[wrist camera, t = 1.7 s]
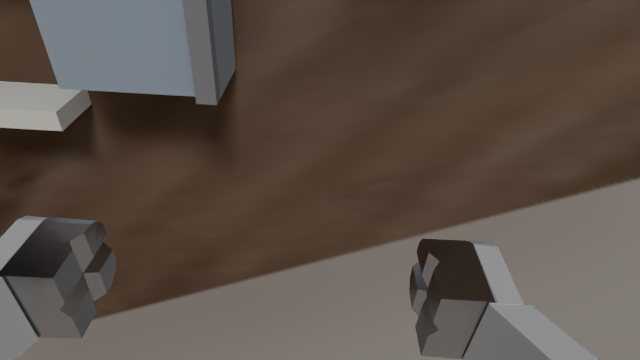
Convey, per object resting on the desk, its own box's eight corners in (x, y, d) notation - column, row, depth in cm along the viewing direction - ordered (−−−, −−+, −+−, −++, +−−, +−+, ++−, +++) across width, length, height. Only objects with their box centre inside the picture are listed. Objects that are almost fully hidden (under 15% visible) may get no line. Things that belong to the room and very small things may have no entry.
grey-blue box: (232, -30, 22) (205, -6, 17) (238, 63, 25) (216, 105, 20) (78, -40, 22) (10, -18, 17) (103, 55, 24) (51, 95, 20)
